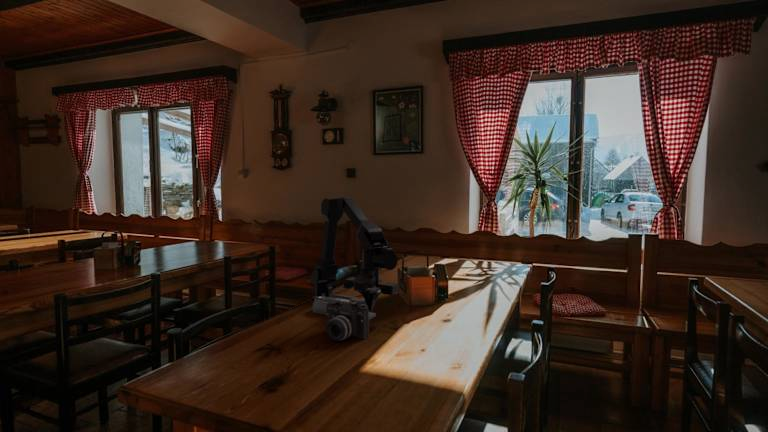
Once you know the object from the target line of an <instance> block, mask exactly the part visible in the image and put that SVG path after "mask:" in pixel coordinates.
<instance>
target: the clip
mask: <svg viewBox="0 0 768 432" xmlns="http://www.w3.org/2000/svg"><path fill="white" fill-rule="evenodd" d="M350 301H351V302H357V305H358V306H360V305H361V304H365V305H366V306H367V304H366V301H365V299H364V297H363V298H361V297H360V298H359V297H356V298H352V299H349V302H350Z"/></svg>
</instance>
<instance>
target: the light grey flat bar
mask: <svg viewBox="0 0 768 432" xmlns="http://www.w3.org/2000/svg"><path fill="white" fill-rule="evenodd" d="M319 299H323V300H329V301H337V302H338V300H339V298H332V297H325V296H323V297H320V298H319ZM340 302H346V303H347V302H349V300H346V299H340Z"/></svg>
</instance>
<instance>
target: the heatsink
mask: <svg viewBox="0 0 768 432" xmlns="http://www.w3.org/2000/svg"><path fill="white" fill-rule="evenodd" d="M313 296H314V295H313ZM323 296H325V297H326V293H322V296H321V297H323ZM328 297H332V298H339V299H346V300H349V299H352V298H357V297H356V296H350V295H345V294H344V295H343V294H338V293H333V292H332V293H330V294H328ZM319 298H320V297H318V296H314V299H313V300H314V301H313V302H312V313H313V314H318V315H319V314H320V315H325V316H327V315H326V314H327V312H326V305H327V304H328V303H329V300H323V299H319Z"/></svg>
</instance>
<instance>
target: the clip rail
mask: <svg viewBox="0 0 768 432" xmlns="http://www.w3.org/2000/svg"><path fill="white" fill-rule="evenodd" d="M376 316H377V313H376V312H372V311H369V321H370V320H372V319H373V318H375V317H376Z"/></svg>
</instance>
